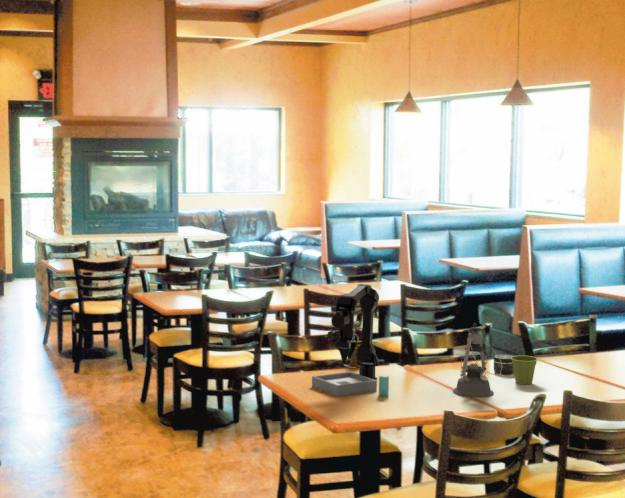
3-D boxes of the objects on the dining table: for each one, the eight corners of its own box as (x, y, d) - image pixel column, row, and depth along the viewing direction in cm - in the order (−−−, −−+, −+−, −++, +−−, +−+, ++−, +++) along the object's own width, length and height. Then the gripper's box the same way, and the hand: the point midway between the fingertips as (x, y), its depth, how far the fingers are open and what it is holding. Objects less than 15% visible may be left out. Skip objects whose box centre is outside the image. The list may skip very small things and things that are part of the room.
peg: (384, 393, 411) (385, 375, 411) (390, 395, 408) (390, 377, 407) (377, 395, 409) (377, 376, 409) (382, 397, 406) (382, 378, 405)
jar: (518, 372, 456) (518, 356, 456) (510, 376, 448) (511, 359, 447) (498, 369, 462) (498, 353, 461) (490, 373, 453) (490, 357, 452)
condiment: (366, 366, 465) (366, 341, 464) (351, 368, 461) (352, 343, 459) (357, 363, 471) (357, 339, 470) (343, 365, 467) (343, 340, 465)
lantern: (496, 400, 403) (498, 328, 400) (448, 395, 410) (450, 325, 407) (503, 390, 419) (505, 321, 417) (457, 386, 426) (459, 318, 424)
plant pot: (510, 379, 441) (510, 354, 440) (536, 380, 439) (537, 356, 438) (509, 385, 430) (510, 360, 428) (537, 386, 427) (538, 361, 426)
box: (350, 381, 433) (350, 371, 433) (376, 390, 416) (376, 380, 416) (312, 386, 423) (312, 376, 422) (337, 396, 406) (337, 385, 406)
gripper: (334, 320, 425) (334, 355, 427) (323, 327, 407) (322, 363, 409) (359, 321, 422) (358, 356, 424) (348, 328, 404) (348, 365, 406)
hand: (346, 360), depth 416 cm, fingers open, 9 cm apart
